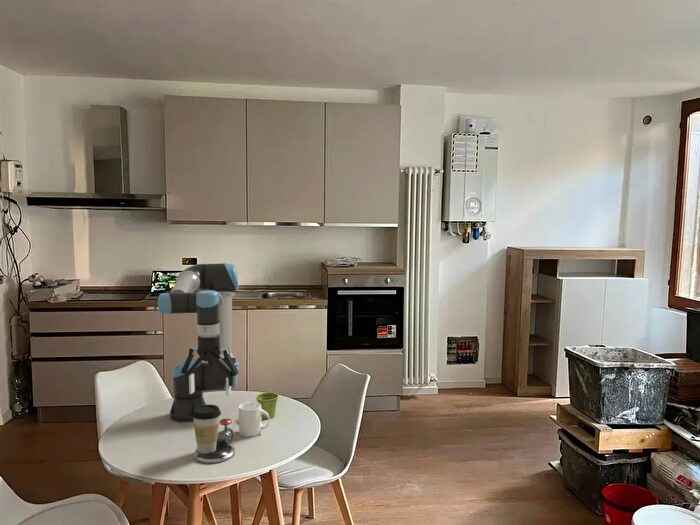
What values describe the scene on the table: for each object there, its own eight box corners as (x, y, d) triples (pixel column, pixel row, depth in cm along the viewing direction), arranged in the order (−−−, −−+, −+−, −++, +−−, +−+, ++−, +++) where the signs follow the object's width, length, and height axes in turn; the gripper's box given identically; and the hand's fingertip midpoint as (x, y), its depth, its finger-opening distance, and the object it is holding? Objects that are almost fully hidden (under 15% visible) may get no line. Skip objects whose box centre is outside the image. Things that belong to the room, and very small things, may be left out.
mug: (267, 437, 202) (267, 410, 201) (236, 436, 203) (235, 409, 202) (272, 428, 211) (271, 402, 210) (242, 427, 212) (241, 401, 211)
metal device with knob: (210, 439, 202) (210, 417, 201) (246, 441, 200) (245, 419, 199) (187, 464, 182) (186, 439, 182) (226, 467, 180) (225, 442, 180)
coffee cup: (194, 444, 193) (194, 404, 192) (222, 443, 195) (222, 403, 193) (190, 456, 184) (189, 414, 182) (219, 455, 185) (219, 413, 183)
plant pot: (264, 410, 230) (264, 391, 229) (283, 414, 226) (282, 394, 225) (251, 418, 221) (251, 398, 221) (270, 421, 217) (270, 401, 217)
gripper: (169, 336, 184) (172, 395, 187) (239, 339, 181) (240, 399, 183) (179, 331, 192) (181, 388, 194) (246, 333, 188) (247, 391, 191)
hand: (210, 393), depth 189 cm, fingers open, 13 cm apart
